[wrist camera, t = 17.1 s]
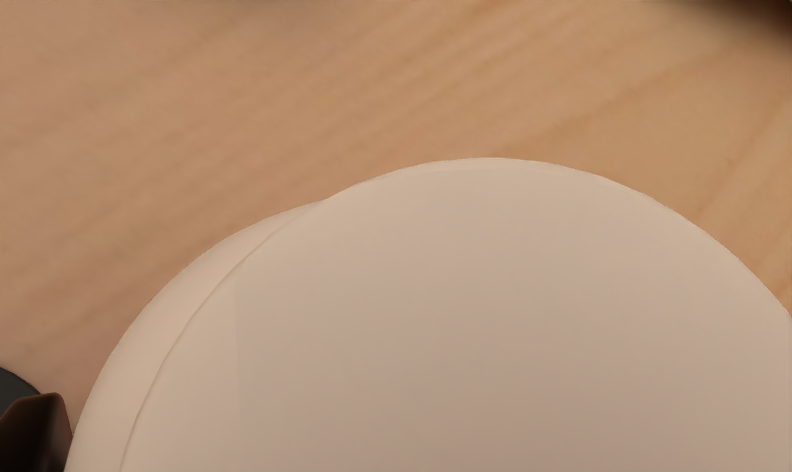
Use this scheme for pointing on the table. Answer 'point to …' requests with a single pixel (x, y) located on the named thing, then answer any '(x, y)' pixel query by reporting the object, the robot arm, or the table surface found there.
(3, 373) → the coaster
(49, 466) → the robot arm
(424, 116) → the table surface
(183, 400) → the pill bottle
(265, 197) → the table surface
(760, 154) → the table surface
